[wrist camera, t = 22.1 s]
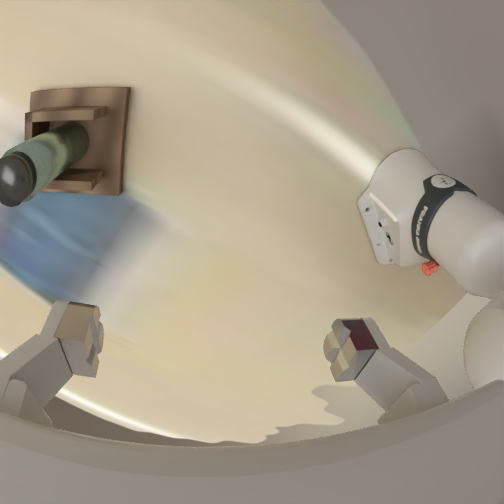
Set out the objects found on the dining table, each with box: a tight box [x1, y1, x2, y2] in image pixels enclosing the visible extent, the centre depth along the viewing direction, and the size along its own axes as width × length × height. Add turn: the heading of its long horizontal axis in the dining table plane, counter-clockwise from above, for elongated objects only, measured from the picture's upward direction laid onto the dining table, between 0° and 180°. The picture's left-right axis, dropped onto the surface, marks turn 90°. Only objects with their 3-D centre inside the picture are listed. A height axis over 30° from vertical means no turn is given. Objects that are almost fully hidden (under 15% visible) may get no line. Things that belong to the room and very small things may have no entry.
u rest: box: [25, 87, 130, 196], centre depth 31 cm, size 15×15×6 cm
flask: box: [0, 122, 89, 207], centre depth 26 cm, size 6×6×16 cm
